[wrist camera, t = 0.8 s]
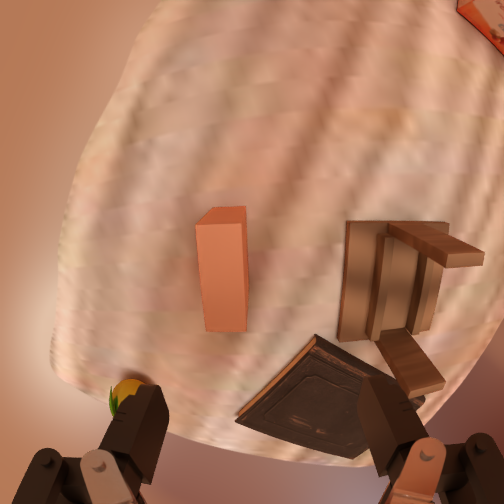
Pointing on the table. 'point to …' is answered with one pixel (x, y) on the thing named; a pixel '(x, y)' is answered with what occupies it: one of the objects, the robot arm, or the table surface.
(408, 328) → the track frame
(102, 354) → the table surface
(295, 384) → the hardcover book
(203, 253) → the door panel
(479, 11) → the cracker box
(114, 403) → the lemon
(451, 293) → the table surface
